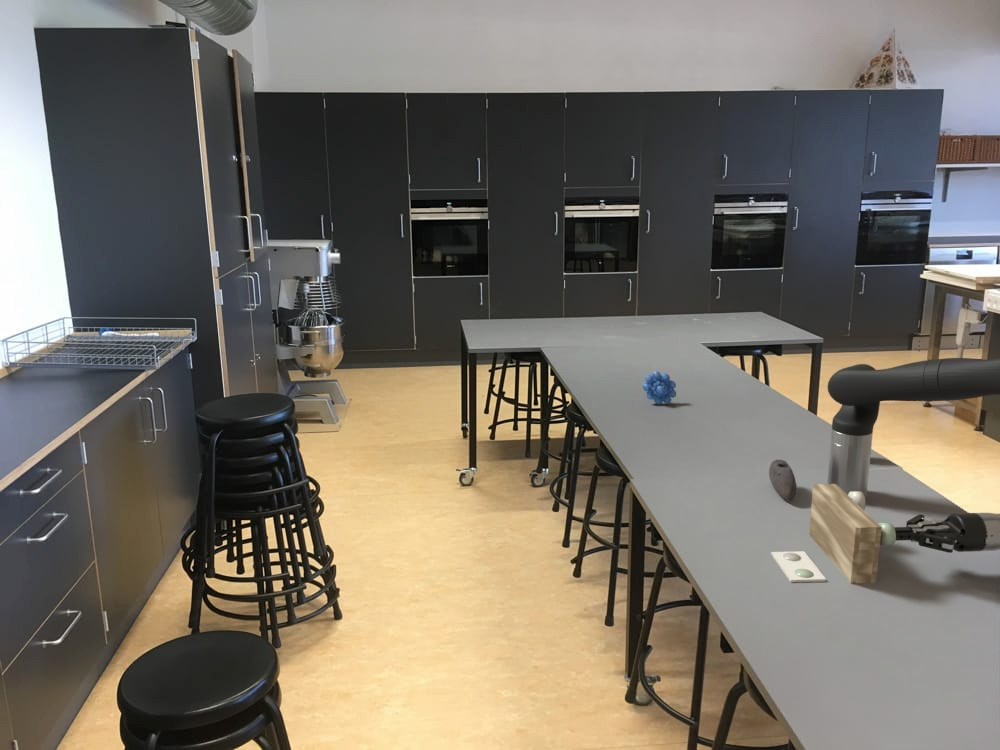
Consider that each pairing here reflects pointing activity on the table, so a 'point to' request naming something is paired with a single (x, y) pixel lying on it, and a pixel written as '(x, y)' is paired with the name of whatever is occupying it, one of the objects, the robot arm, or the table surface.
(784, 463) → the perforated stone tool
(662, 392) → the blue bumpy cluster
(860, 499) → the button white
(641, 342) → the table surface
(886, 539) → the button sage
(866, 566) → the light wood rectangular block
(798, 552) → the pattern card
